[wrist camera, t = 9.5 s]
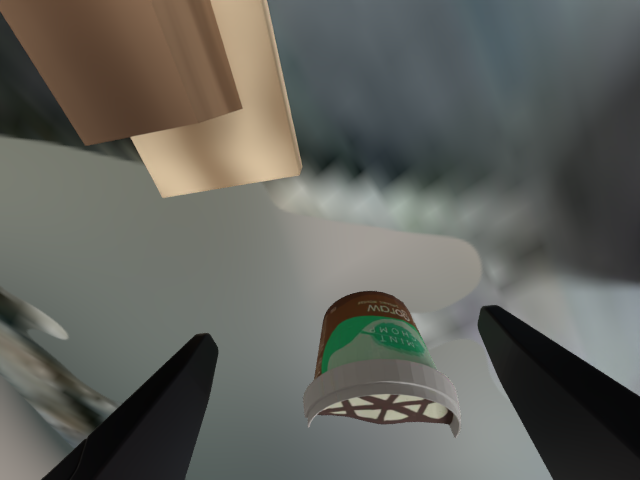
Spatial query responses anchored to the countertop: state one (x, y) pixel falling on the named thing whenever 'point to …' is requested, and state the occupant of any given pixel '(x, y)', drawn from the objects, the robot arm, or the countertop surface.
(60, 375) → the countertop surface
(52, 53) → the walnut block
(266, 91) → the oak base
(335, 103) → the countertop surface
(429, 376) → the food container
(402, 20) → the countertop surface
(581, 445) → the robot arm
